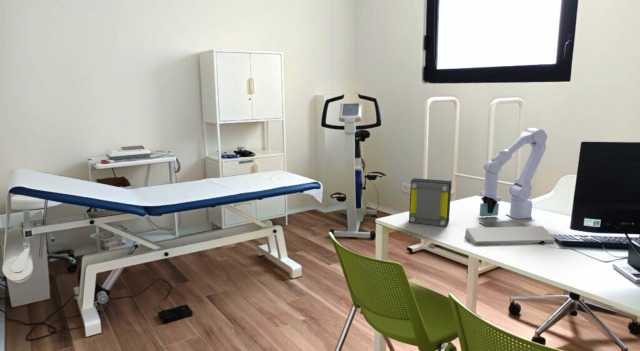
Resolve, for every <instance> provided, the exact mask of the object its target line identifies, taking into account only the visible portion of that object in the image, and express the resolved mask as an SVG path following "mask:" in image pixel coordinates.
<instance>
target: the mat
mask: <svg viewBox="0 0 640 351" xmlns="http://www.w3.org/2000/svg"><path fill="white" fill-rule="evenodd" d="M478 223H479V224H480V225H482V226H483V227H485V228H488V227H528V226H527V225H524V224H523V223H520V222H519V221H517V220H515V219H511V220H510V219H509V220H497V221H496V220H495V221H494V220H493V221H481V222H478Z"/></svg>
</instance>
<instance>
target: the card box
mask: <svg viewBox="0 0 640 351" xmlns="http://www.w3.org/2000/svg"><path fill="white" fill-rule="evenodd" d="M479 205H480V206H479V217H481V218H483V217H498V216H499V208H500V203H499V202H497V204H496V205H495V208H494V210H493V213H488V205H487V203H480V204H479Z"/></svg>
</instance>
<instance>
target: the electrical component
mask: <svg viewBox="0 0 640 351" xmlns="http://www.w3.org/2000/svg"><path fill="white" fill-rule="evenodd" d="M409 194H410V195H409V209H408V211H409V212H408V223H412V222H413V223H414V224H421V225H422V224H424V225H431V226H438V227H440V226H441V227H448V225H449V223H450V214H451V213H450V211H451V196H452V195H451V194H452V180H443V179H442V180H441V179H429V178H414V177H413V178H412V179H411V180H410V193H409Z"/></svg>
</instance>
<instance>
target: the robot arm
mask: <svg viewBox="0 0 640 351" xmlns="http://www.w3.org/2000/svg"><path fill="white" fill-rule="evenodd" d="M547 139H548V135H547V133H546V131H545V130H544V129H540V128H539V129H538V128H534V127H528V128H525V129H524V130H523V131H522V132H521V133H520V135H519V137H517V138H516V140H515V141H514V142H512V143H511V144H510V145H509V147H507V148H506V149H501V150H499V151H498V153H497V154H496V155H495V156H494V157H491V159H490V160H488V161H486V162H485V164H484V165H483V169H484V171H485V176H484V188H483V189H484V190H480V191H479V195H480V196H482V197H481V200H482V202H483V203H487V205H488V213H493V210H494V208H495V205H496V204H497V203H499V202H502V201H501V200H502V198H501V196H499V195H498V192H497V191H498V182H499V173H500V172H501V171H502V167H503V166H505V164H507V163H508V162H509V161H510V160H511V159H512V157H513V154H515V152H517V151H518V150H519V149H520V148H522V147H524V146H525V145H526V144H530V147H531V149H532V150H531V151H530V153H529V155H528V157H527V160H526V163H525V164H524V167H523V169H522V171H521V174H520V176H519V178H517V179H516V180H515V181H514V182H513V184H512V185H510V186H509V190H508V191H509V194H510V195H511V196H510V197H511V198H510V208H509V212H508V213H506V214H505V215H506V216H509V217H511V218H513V219H514V220H521V219H532V218H533V216H532V212H533V203H532V200H531V199H530V197H531V193H532V192H531V191H532V189H533V186H532V183H531V182H532V180H533V178H534V176H535V174H536V172H537V169H538V167H539V165H540V163H541V160H542V159H543V156H544V154H545V152H546V150H547Z"/></svg>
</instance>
